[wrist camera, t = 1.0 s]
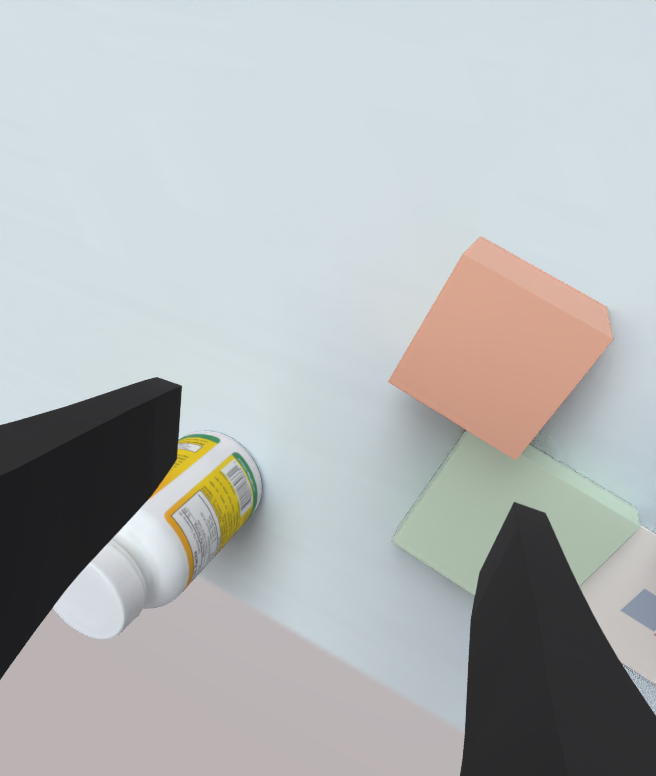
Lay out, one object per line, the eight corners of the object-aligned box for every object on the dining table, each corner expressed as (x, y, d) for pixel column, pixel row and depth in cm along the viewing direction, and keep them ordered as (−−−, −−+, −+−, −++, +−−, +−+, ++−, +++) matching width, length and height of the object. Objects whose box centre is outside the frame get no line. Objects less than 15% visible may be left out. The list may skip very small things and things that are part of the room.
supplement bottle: (281, 469, 28) (158, 604, 20) (240, 535, 30) (118, 678, 22) (195, 406, 28) (40, 511, 20) (162, 476, 31) (15, 594, 23)
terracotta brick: (606, 305, 20) (613, 338, 16) (524, 412, 22) (515, 460, 19) (481, 235, 21) (463, 253, 17) (415, 346, 23) (387, 381, 20)
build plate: (637, 509, 22) (640, 527, 21) (533, 613, 25) (531, 633, 24) (477, 413, 23) (473, 425, 22) (398, 526, 26) (391, 541, 25)
